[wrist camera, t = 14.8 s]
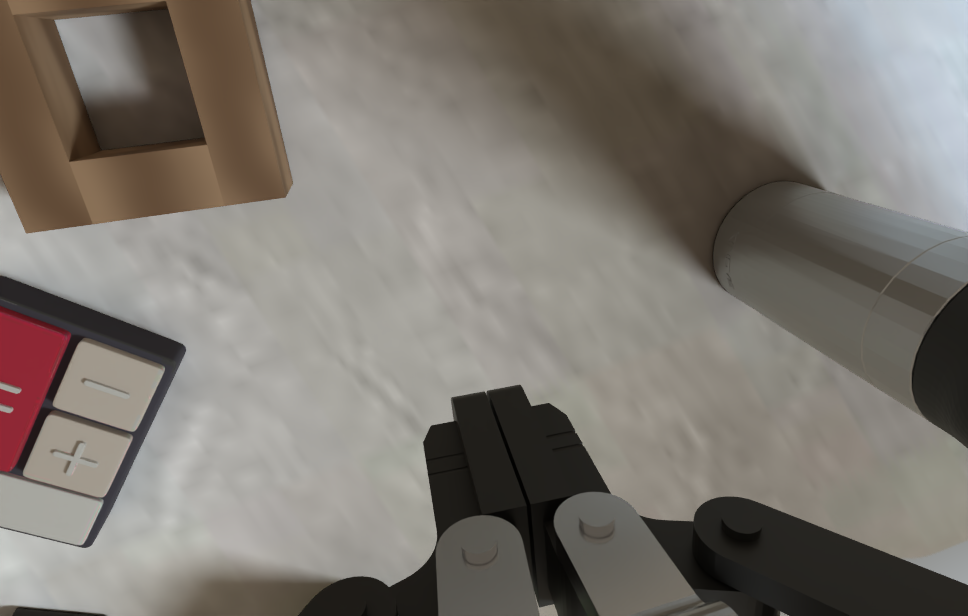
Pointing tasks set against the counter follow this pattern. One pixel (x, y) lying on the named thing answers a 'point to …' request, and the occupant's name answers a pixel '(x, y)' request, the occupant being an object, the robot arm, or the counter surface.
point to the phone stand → (43, 613)
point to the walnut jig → (148, 168)
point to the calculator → (72, 410)
